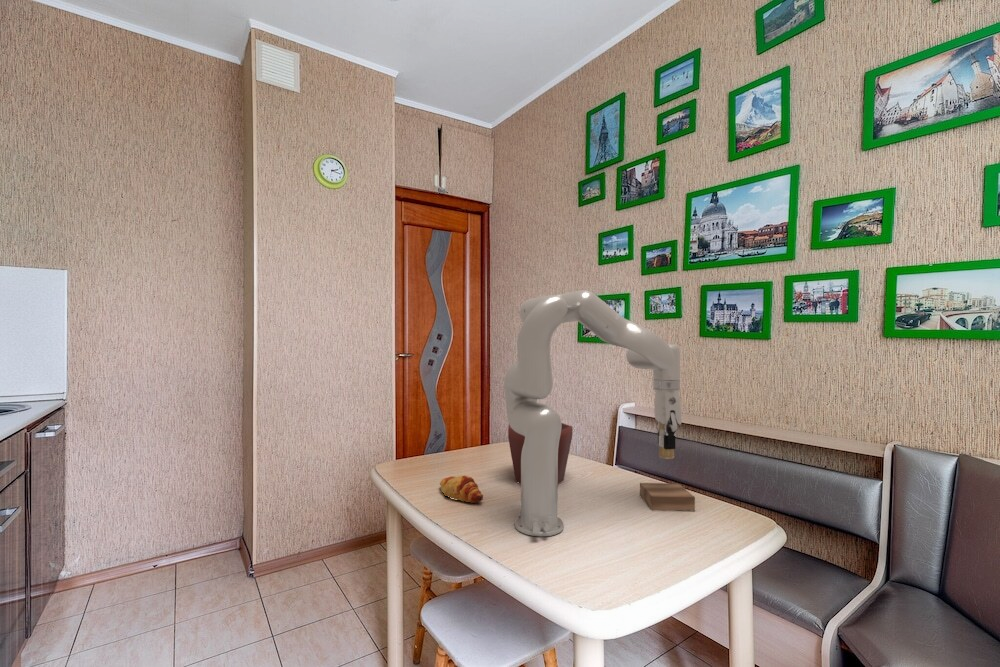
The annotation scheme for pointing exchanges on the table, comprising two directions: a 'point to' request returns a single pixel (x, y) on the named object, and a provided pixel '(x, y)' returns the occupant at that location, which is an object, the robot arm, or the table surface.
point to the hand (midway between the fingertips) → (666, 446)
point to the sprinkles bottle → (663, 452)
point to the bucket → (563, 450)
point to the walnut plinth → (666, 496)
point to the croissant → (461, 488)
